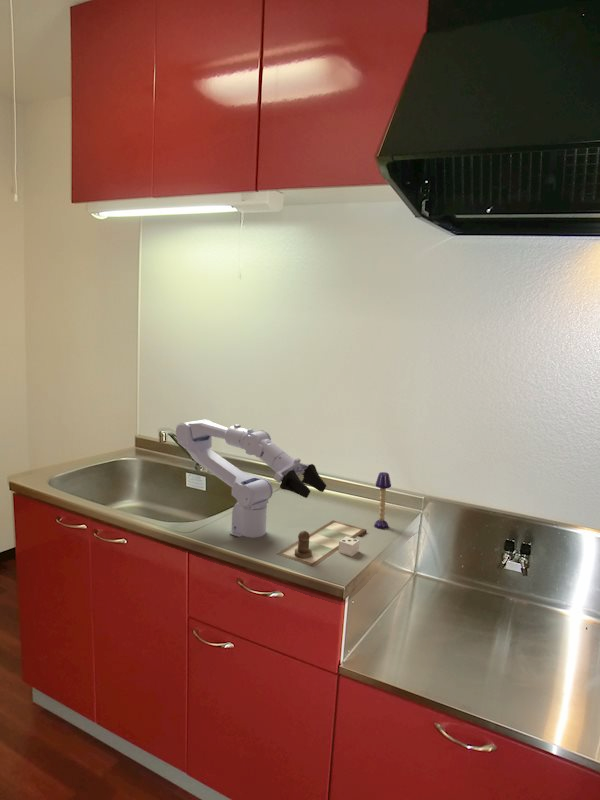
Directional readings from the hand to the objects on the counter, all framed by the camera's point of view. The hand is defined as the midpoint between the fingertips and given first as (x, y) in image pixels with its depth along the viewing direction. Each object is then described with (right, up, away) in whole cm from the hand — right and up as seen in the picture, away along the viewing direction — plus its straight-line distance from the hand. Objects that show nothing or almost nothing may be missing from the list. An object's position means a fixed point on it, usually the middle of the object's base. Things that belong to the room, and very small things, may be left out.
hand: (316, 491), depth 134 cm
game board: (+2, -16, +11) cm, 20 cm away
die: (+9, -18, +5) cm, 20 cm away
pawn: (-3, -17, +2) cm, 17 cm away
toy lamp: (+20, -15, +26) cm, 36 cm away
